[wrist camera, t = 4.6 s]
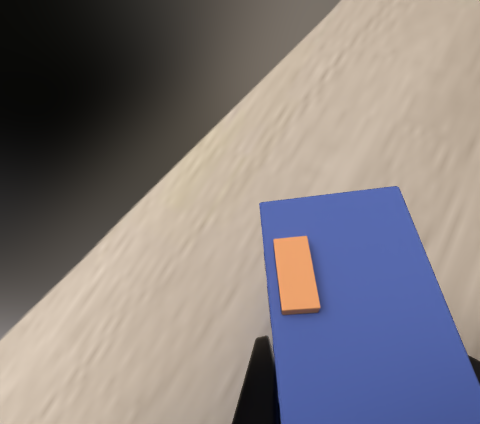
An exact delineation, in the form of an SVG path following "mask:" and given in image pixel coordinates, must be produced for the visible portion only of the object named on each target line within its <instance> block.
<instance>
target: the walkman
mask: <svg viewBox="0 0 480 424" xmlns="http://www.w3.org/2000/svg"><path fill="white" fill-rule="evenodd" d="M259 205H260V215H261V225H262V235H263V245H264V257H265V258H264V261H265V265H266V268H265V270H266V275H267V289H268V295H269V298H268V301H269V305H270V309H269V311H270V315H271V318H270V320H271V328H272V336H273V351H274V358H275V366H276V376H277V386H278V402H279V406H280V416H281V419H280V423H281V424H480V384H479V382H478V379H477V377H476V374H475V372H474V369H473V367H472V365H471V362H470V360H469V357H468V355H467V352H466V350H465V347H464V345H463V343H462V340H461V338H460V335H459V333H458V330H457V328H456V325H455V323H454V321H453V318H452V316H451V313H450V311H449V308H448V306H447V304H446V301H445V299H444V296H443V294H442V291H441V289H440V286H439V284H438V282H437V279H436V277H435V274H434V272H433V269H432V267H431V264H430V262H429V260H428V257H427V255H426V252H425V250H424V247H423V245H422V242H421V240H420V238H419V235H418V233H417V230H416V228H415V225H414V223H413V220H412V218H411V216H410V213H409V211H408V208H407V206H406V203H405V201H404V198H403V196H402V194H401V191H400V189H399V187H397V186H393V187H384V188H376V189H368V190H360V191H351V192H343V193H335V194H327V195H318V196H310V197H302V198H294V199H286V200H277V201H269V202H261V203H260V204H259Z"/></svg>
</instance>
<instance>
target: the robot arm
mask: <svg viewBox="0 0 480 424" xmlns="http://www.w3.org/2000/svg"><path fill="white" fill-rule="evenodd" d="M468 357H469V360H470V362H471V365H472V367H473V369H474V372H475V374H476V377H477V379H478V382H479V384H480V361H478V360H476V359H474V358H472V357H471V356H469V355H468ZM280 419H281V416H280V406H279V402H278V386H277V376H276V366H275V359H274V355H273V351H272V348H271V344H270V340H269V337H268V336H263V337H259V338H257V339H256V340H255V344H254V347H253V351H252V354H251V358H250V361H249V365H248V368H247V372H246V375H245V379H244V382H243V386H242V390H241V393H240V397H239V400H238V404H237V407H236V411H235V414H234V418H233V421H232V424H281V423H280Z"/></svg>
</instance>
